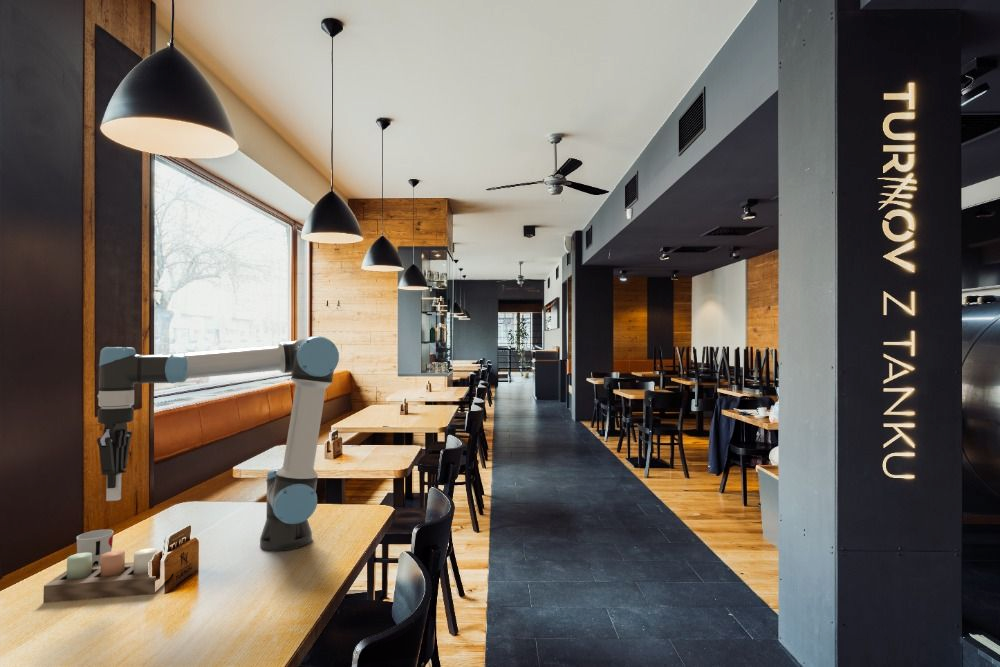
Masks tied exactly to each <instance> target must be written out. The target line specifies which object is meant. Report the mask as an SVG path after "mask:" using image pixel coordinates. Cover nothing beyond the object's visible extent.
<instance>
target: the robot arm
mask: <svg viewBox="0 0 1000 667" xmlns="http://www.w3.org/2000/svg"><path fill="white" fill-rule="evenodd" d="M339 362H340V352H339V349H338V347H337V346H336V345H335V343H334V342H333V341H331V339H328V338H327V337H324V336H322V335H321V336H320V335H318V336H317V335H312V336H309V337H304V338H301V339H298V340H293V341H285V342H280V343H279V344H278V345H275V346H263V347H261V346H260V347H248V348H235V349H223V350H221V349H220V350H211V351H209V350H208V351H195V352H194V351H193V352H185V353H184V352H183V353H170V354H169V353H165V354H164V353H163V354H137V352H136V349H135V348H134V347H128V346H127V347H126V346H125V347H124V346H123V347H122V346H116V347H115V346H113V347H112V346H105V347H103V348H102V349H101V350H100V354H99V363H98V394H97V396H96V397H97V399H98V402H97V403H98V406H99V407H100V408H99V409H98V411H97V423H98V424H101V425H104V426H103V431H102V437H97V439H96V443H97V446H98V451H99V459H100V460H99V461H100V467H101V468H100V469H101V470H100V471H101V476H106V493H105V494H106V495H105V496H106V497H105V498H106V499H105V501H106V502H115V501H120V500H121V499H122V473H125V474H126V472H127V465H128V459H129V453H130V452H129V451H130V444H131V439H132V435H133V430H128V424H129V423H131V422H134V419H135V418H134V411H135V409H134V407H132V406H134V405H135V384H177V383H185V382H186V381H187V380H188V379H196V378H197V379H199V378H208V377H209V378H210V377H218V376H219V377H220V376H222V377H223V376H230V375H243V374H252V373H262V372H263V373H264V372H275V371H279V372H281V373H282V374H286V373H287V374H288V373H291V381H292V382H293V383H294V386H295V387H294V395H293V401H292V408H291V413H290V420H289V426H288V431H287V432H288V433H287V437H286V445H285V452H284V456H283V464H282V467H281V468H276V469H272V470H271V469H270V470H269V471H268V472H267V474H266V479H265V482H266V518H265V519H266V520H265V523H264V525H263V529H262V531H261V535H260V538H259V547H260V548H261V549H263V550H266V551H270V552H271V551H274V552H276V551H277V552H280V551H289V550H294V549H300V548H302V547H304V546H307V545H308V544H309V543H311V542H312V540H313V538H312V537H313V532H312V529H311V526H310V522H309V518H311V516H313V514H314V513H315V510H316V509H317V506H318V495H317V493H316V491H317V483H318V477H319V474H318V472H316V470H315V468H314V467H315V462H316V456H317V448H318V441H319V436H320V429H321V421H322V416H323V408H324V403H325V397H326V396H325V395H326V391H327V390H326V389H327V388H328V387H329V386H331V385H332V383H333V378H334V373H335V370H336V368H337V367H338V365H339Z"/></svg>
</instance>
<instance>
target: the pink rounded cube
mask: <svg viewBox="0 0 1000 667" xmlns="http://www.w3.org/2000/svg"><path fill="white" fill-rule="evenodd" d="M125 559H126V552H125V550H122V549H121V550H111V552H107V553H104V554H102V555H101V571H100V577H109V576H119V575H121V574H123V573H124V572H125V563H126V562H125V561H126V560H125Z"/></svg>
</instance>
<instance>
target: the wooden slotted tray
mask: <svg viewBox="0 0 1000 667" xmlns="http://www.w3.org/2000/svg"><path fill="white" fill-rule="evenodd" d="M100 571H101V565H92V574H91V575H90V576H88V577H86V578H81V579H68V580H67V570H66V571H64V572H63V573H61V574H59V575H58V576H56V577H54V578H53V579H52V580H50V581H48V582H47V583H45V585H43V597H42V598H43V604H45V603H58V602H71V601H83V600H95V599H107V598H108V599H109V598H121V597H134V596H145V595H146V596H148V595H155V594H156V593H155V581H156V576H152V577H149V575H148V574H136V575H134V574H133V573H134V561H131V562H125V572H124V573H123V574H121V575H119V576H109V577H100Z"/></svg>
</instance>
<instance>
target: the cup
mask: <svg viewBox="0 0 1000 667" xmlns="http://www.w3.org/2000/svg"><path fill="white" fill-rule="evenodd" d="M113 540H114V530H112V529H98V530H96V529H95V530H91V531H87V532H84V533H81V534H79V535H77V536H76V551H77V552H76V554H78V553H86V552H88V553H92V565H101V555H102V554H104V553H107V552H111V551H113V550H112V549H113Z"/></svg>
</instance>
